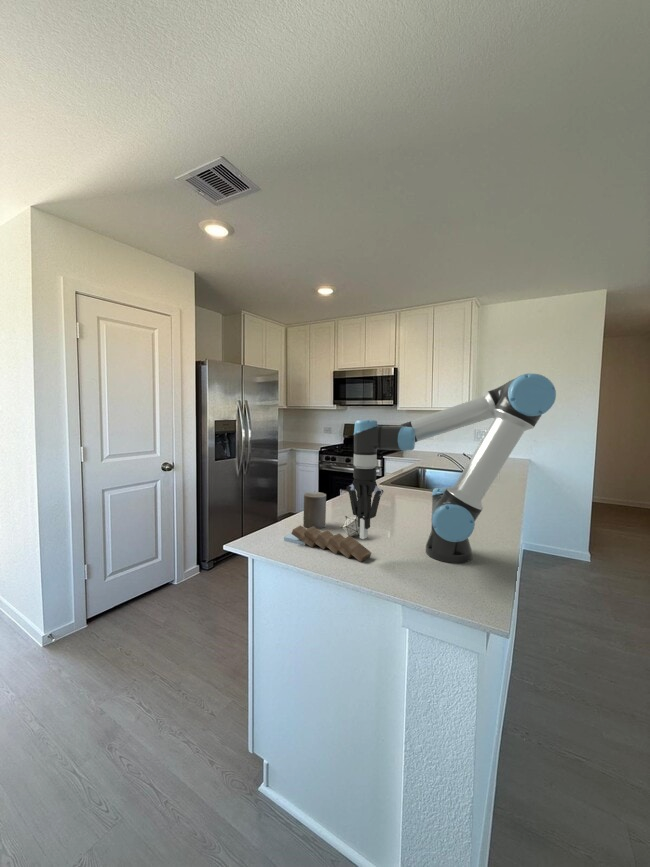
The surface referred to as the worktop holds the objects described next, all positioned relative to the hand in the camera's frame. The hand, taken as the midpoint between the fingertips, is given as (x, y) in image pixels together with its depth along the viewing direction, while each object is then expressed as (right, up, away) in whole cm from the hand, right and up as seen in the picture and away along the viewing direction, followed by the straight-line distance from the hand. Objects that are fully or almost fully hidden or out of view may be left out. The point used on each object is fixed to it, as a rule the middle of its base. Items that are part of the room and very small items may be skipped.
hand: (363, 537), depth 119 cm
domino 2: (-16, -6, +12) cm, 21 cm away
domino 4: (-7, -6, +6) cm, 11 cm away
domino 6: (+1, -7, 0) cm, 7 cm away
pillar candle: (-17, -6, +36) cm, 40 cm away
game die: (-2, -6, +23) cm, 24 cm away
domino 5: (-3, -6, +3) cm, 7 cm away
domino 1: (-19, -6, +14) cm, 25 cm away
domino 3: (-12, -6, +10) cm, 16 cm away
